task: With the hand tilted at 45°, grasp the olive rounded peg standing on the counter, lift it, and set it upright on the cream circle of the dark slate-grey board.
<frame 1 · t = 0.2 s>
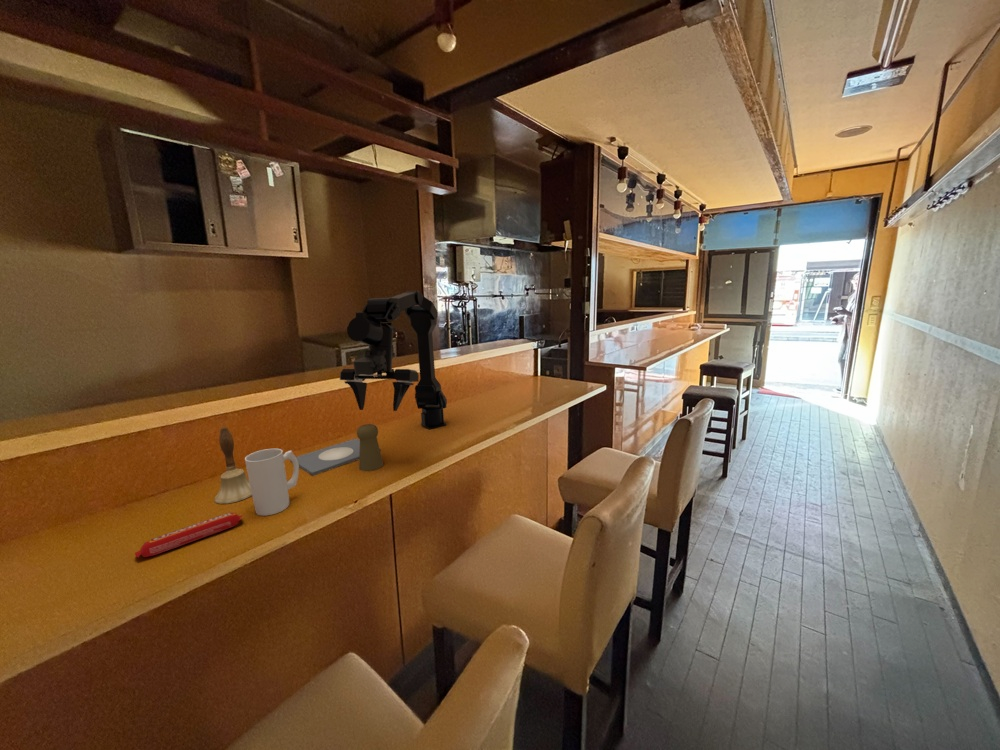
hand: (378, 410, 99), 15 cm above the countertop, tool tilted 15°, fingers open, 9 cm apart
olive rounded peg: (371, 466, 103), on the countertop
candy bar: (194, 541, 74), on the countertop
target board: (336, 456, 110), on the countertop
hand bell: (236, 495, 91), on the countertop
mug: (280, 505, 86), on the countertop
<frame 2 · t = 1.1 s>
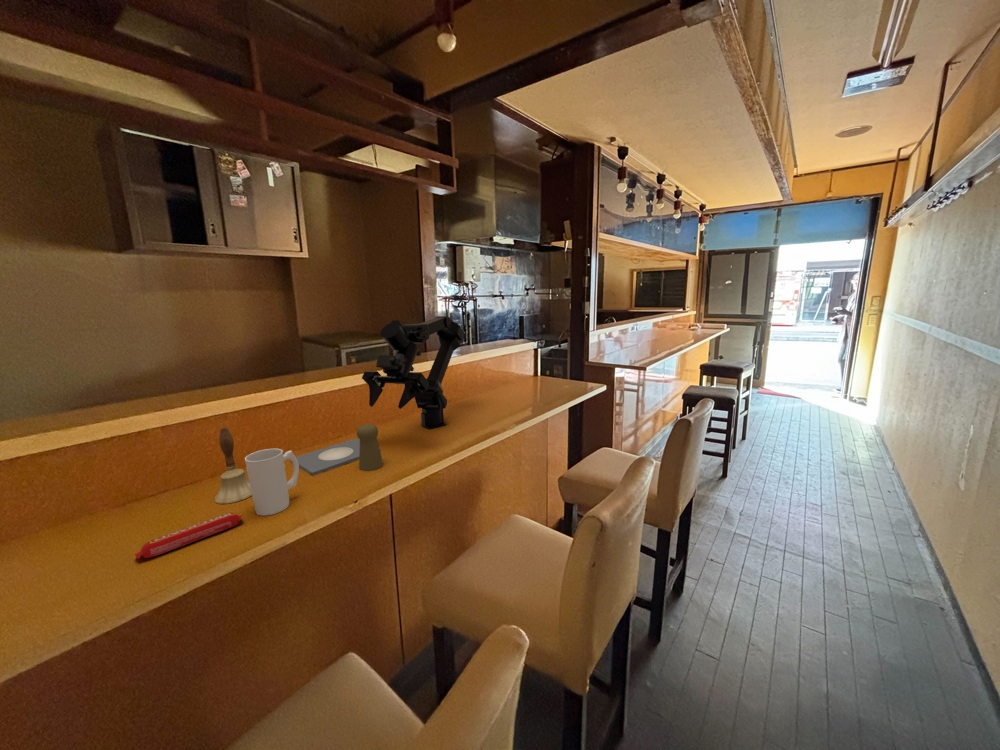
hand: (384, 407, 108), 13 cm above the countertop, tool tilted 45°, fingers open, 9 cm apart
nothing on the countertop moved.
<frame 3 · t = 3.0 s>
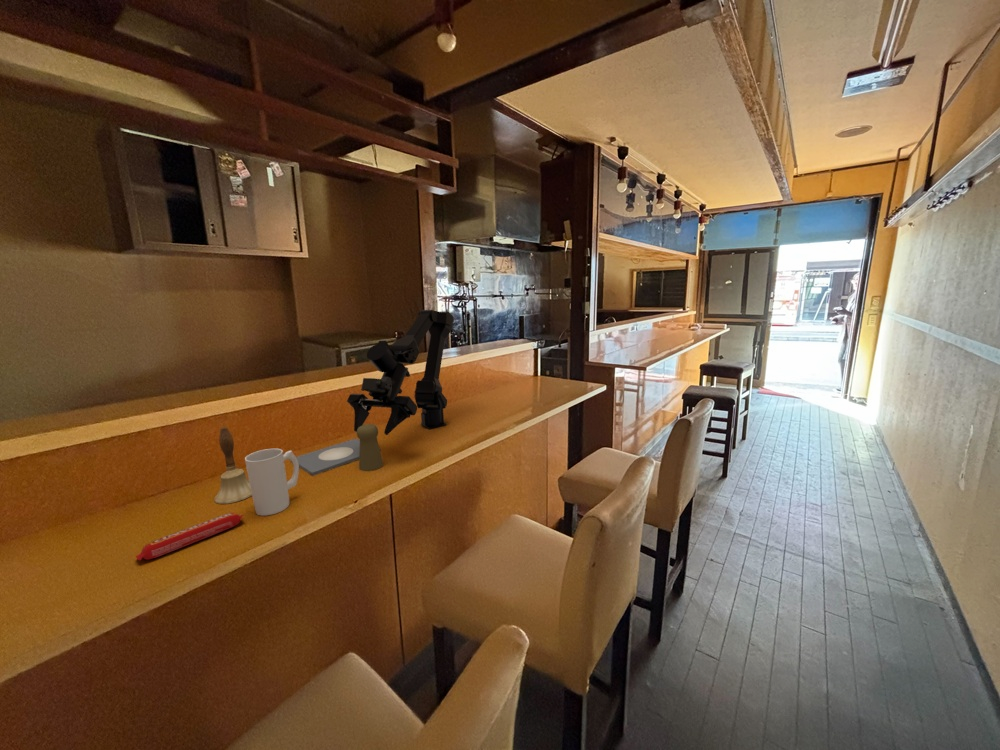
hand: (370, 432, 103), 9 cm above the countertop, tool tilted 45°, fingers open, 9 cm apart
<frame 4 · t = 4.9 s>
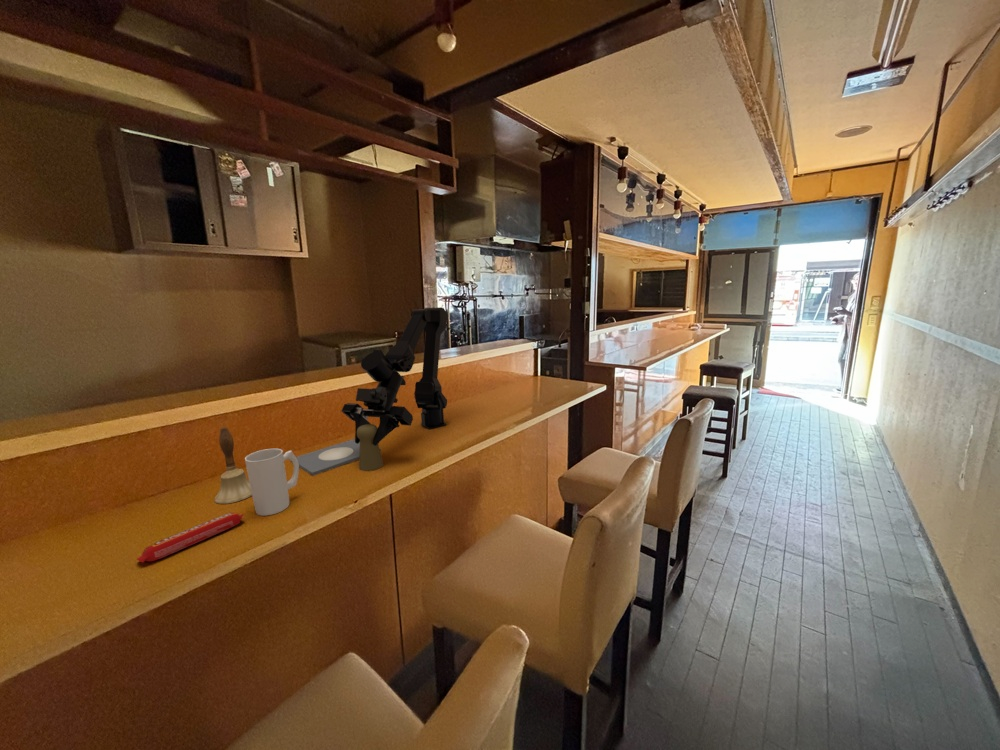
hand: (365, 443, 101), 7 cm above the countertop, tool tilted 45°, fingers closed on olive rounded peg, 5 cm apart
olive rounded peg: (371, 466, 103), on the countertop, touching gripper
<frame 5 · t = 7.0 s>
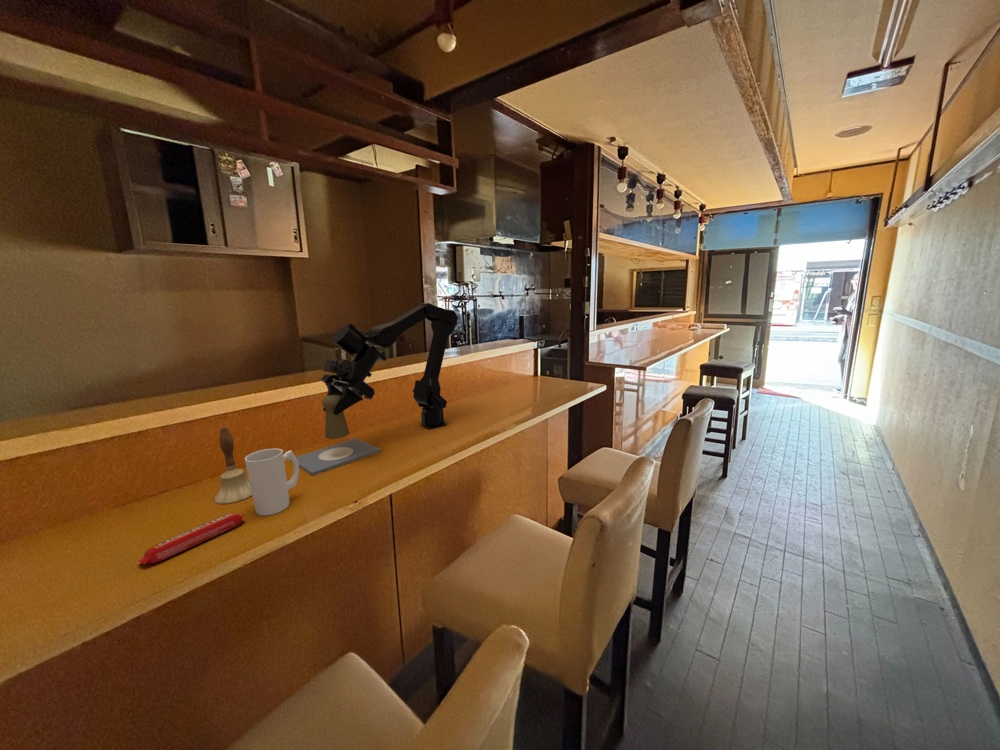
hand: (329, 412, 106), 13 cm above the countertop, tool tilted 45°, fingers closed on olive rounded peg, 5 cm apart
olive rounded peg: (337, 435, 108), point 6 cm above the countertop, touching gripper
when the fingers open (8 cm above the countertop, at t = 9.1 s): olive rounded peg stays where it is, resting on target board.
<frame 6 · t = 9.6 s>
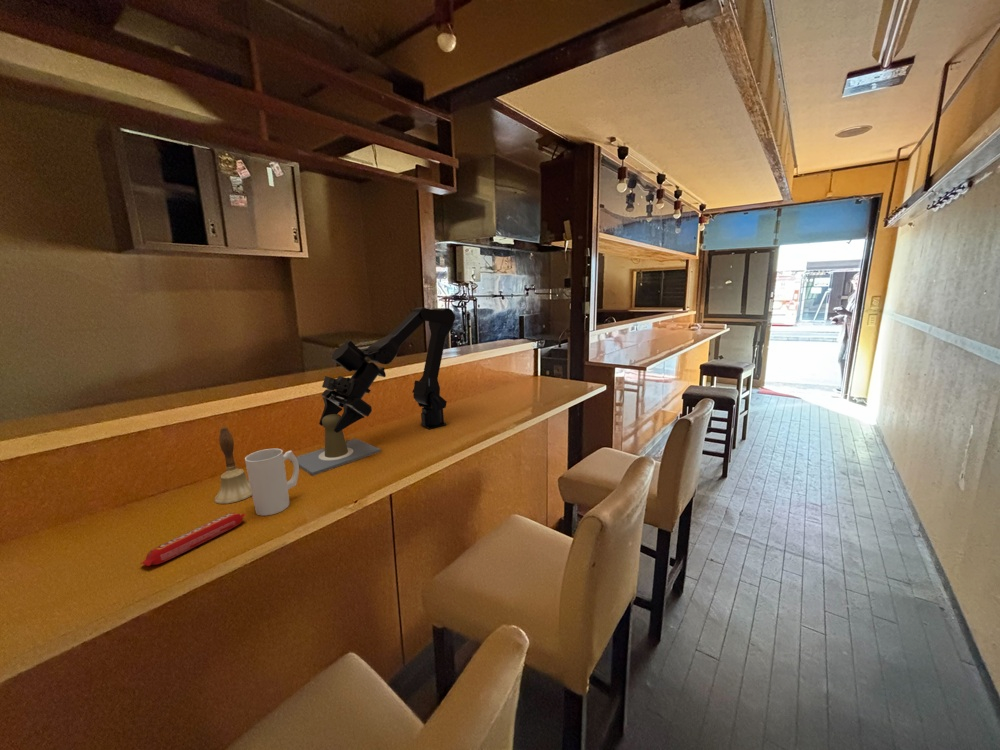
hand: (327, 428, 108), 9 cm above the countertop, tool tilted 45°, fingers open, 9 cm apart
olive rounded peg: (336, 454, 110), point 1 cm above the countertop, touching target board
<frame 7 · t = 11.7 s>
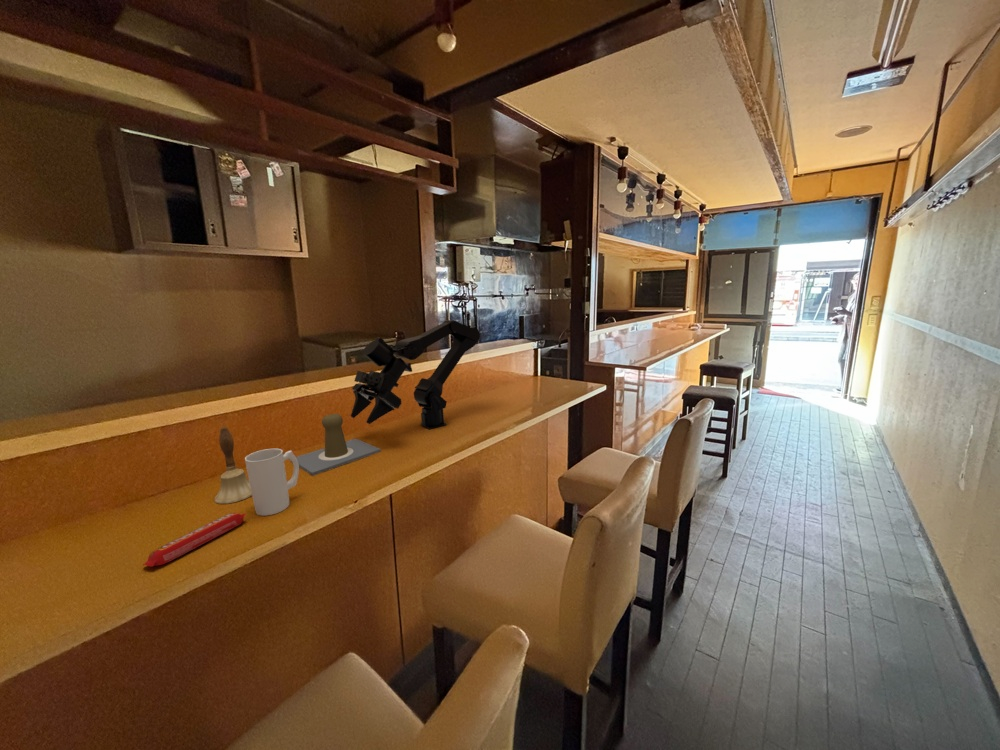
hand: (359, 420, 114), 8 cm above the countertop, tool tilted 45°, fingers open, 9 cm apart
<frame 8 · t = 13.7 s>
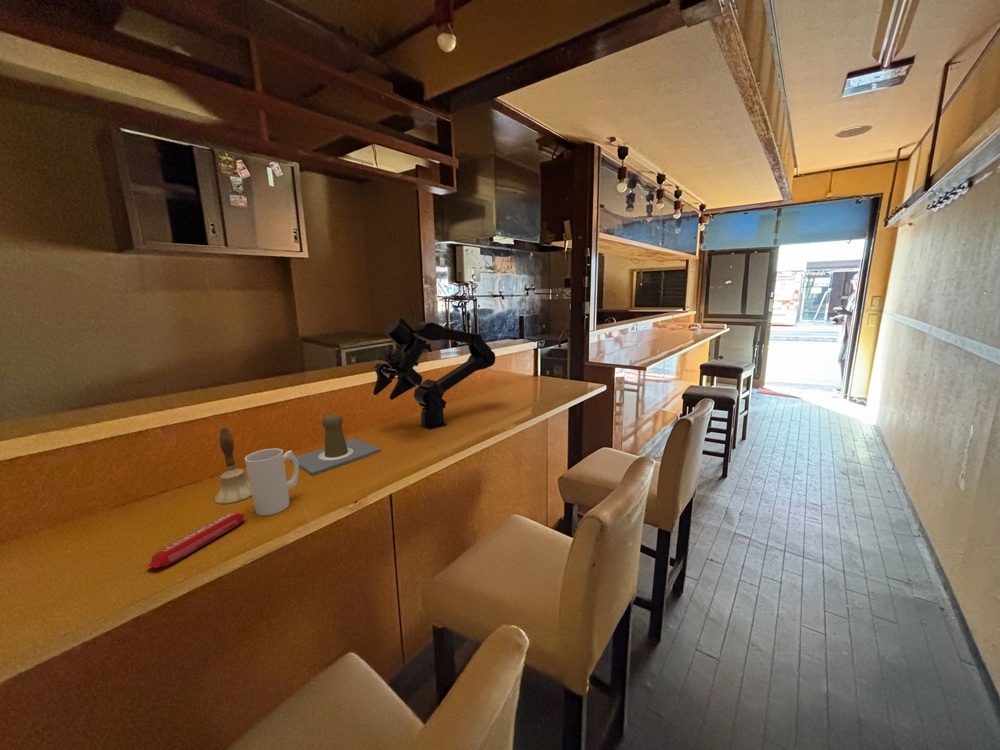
hand: (382, 396, 119), 14 cm above the countertop, tool tilted 45°, fingers open, 9 cm apart
at the end: olive rounded peg inside the target area on the target board (0.1 cm from its centre), point 0.7 cm above the target board's base; olive rounded peg tilted 0°; the gripper is holding nothing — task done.
